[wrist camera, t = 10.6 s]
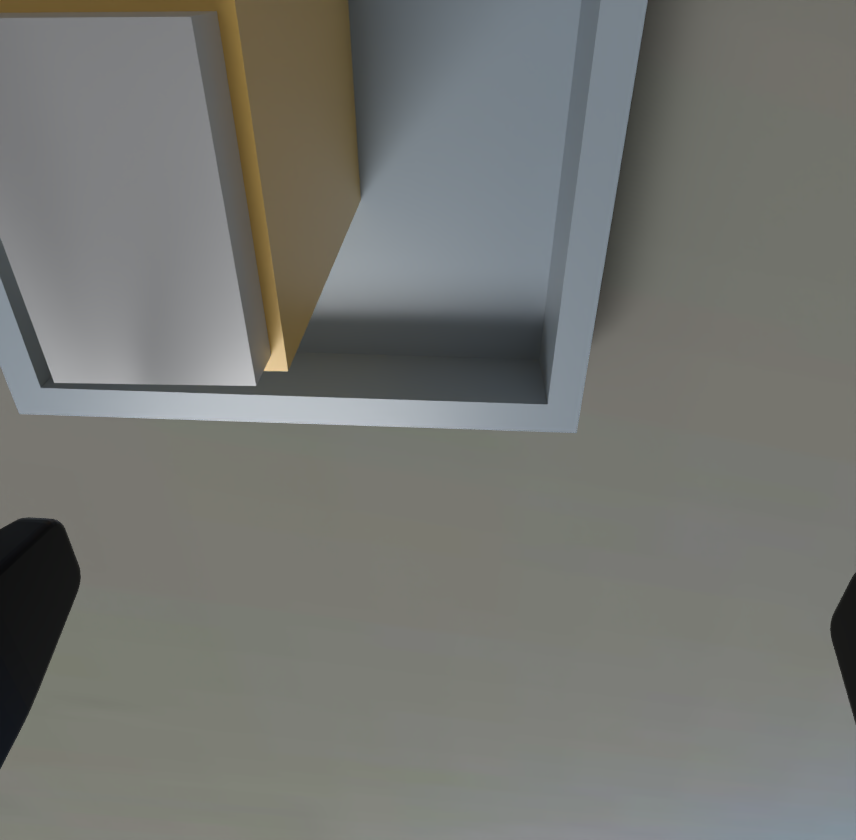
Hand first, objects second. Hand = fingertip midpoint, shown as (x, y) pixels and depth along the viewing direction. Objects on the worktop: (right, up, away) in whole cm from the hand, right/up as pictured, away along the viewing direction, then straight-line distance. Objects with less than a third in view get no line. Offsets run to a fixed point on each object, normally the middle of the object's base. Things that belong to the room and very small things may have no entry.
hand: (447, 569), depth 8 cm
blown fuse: (-3, +9, +7) cm, 12 cm away
